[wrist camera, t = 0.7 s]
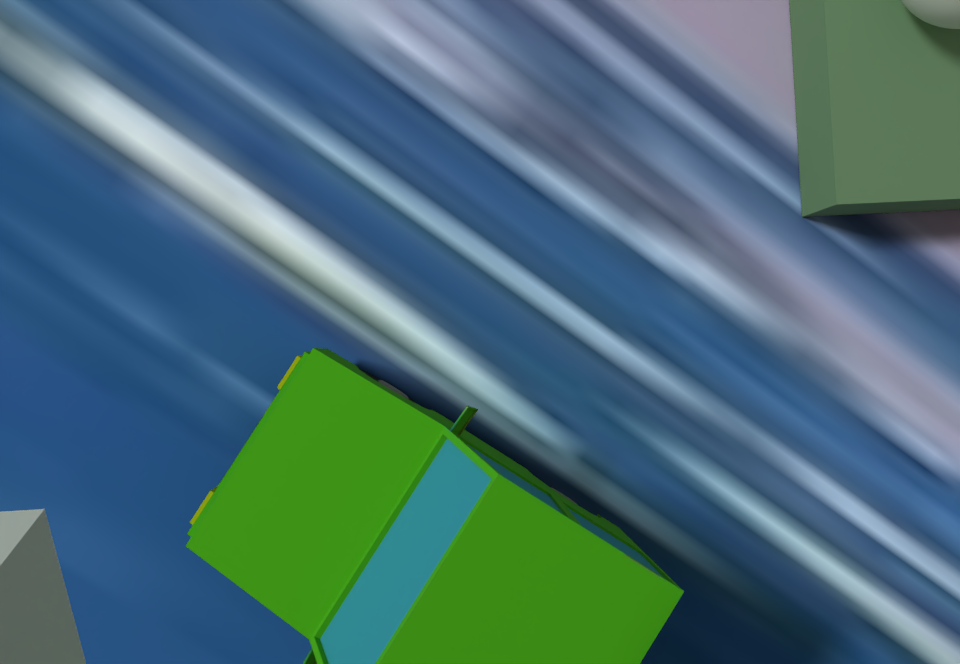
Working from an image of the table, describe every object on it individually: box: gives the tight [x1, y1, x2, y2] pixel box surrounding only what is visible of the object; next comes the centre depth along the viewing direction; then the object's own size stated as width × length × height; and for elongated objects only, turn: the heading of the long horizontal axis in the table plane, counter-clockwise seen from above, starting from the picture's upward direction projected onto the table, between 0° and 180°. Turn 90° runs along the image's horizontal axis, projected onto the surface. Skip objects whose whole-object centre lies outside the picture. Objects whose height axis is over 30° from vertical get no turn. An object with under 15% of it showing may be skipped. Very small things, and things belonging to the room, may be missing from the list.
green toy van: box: [186, 348, 684, 664], centre depth 29 cm, size 10×13×10 cm
